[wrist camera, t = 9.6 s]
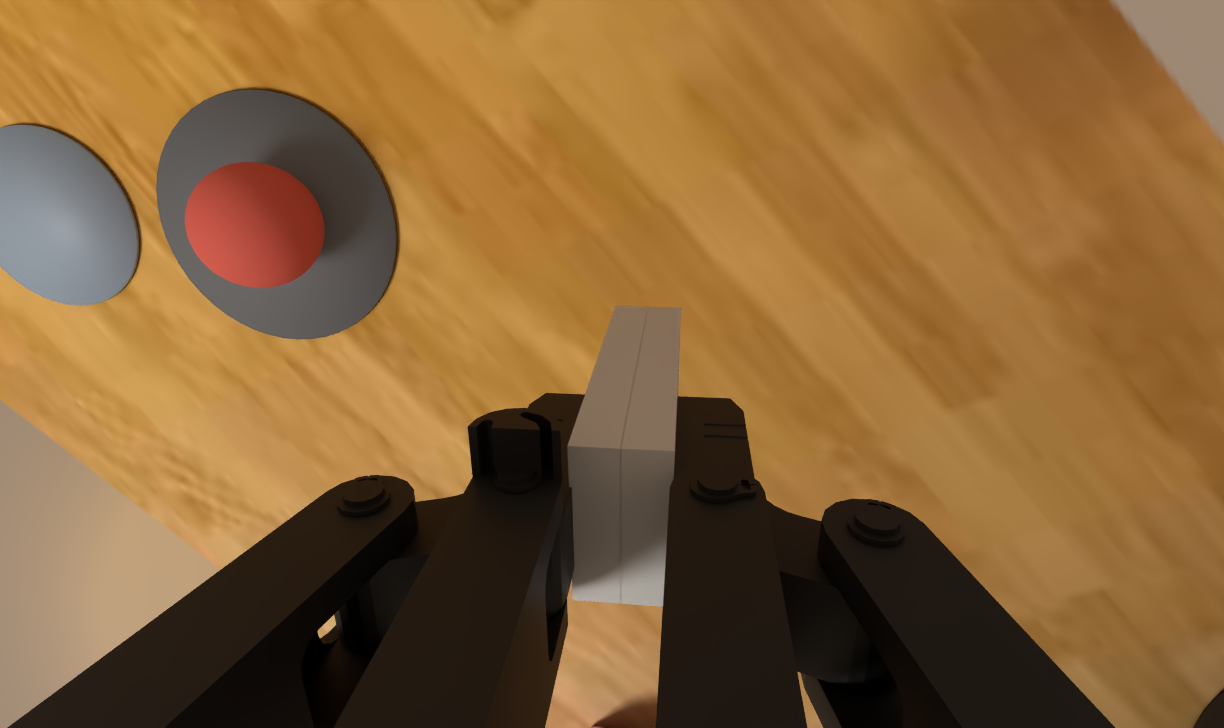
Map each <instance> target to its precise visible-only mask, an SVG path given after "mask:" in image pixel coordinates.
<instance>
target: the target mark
mask: <svg viewBox="0 0 1224 728" xmlns="http://www.w3.org/2000/svg"><path fill="white" fill-rule="evenodd" d="M239 162H258V163H263V164H268V165H271V166H274V167H277V168H279V169H282V170H284V171H286V172H288V173H289V174H291V175H293V176H294V177H295V178H297V179H298V180H299V181H301V182H302V183H303V184H304V185H305V186H306V187H307V188H308V189H309V191H310V192H311V193H312V195H313V196H314V198H315V199H316V201H317V203H318V205H319V207H320V210H321V212H322V215H323V220H324V230H325V234H324V241H323V246H322V249H321V251H320V254H319V256H318V258H317V259H316V261H315V262H314V264H313V265H312V266H311V268H310V269H308V270H307V271H306V272H305V273H304V274H303V275H301V276H300V277H298V278H297V279H295V280H293V281H291V282H289V283H286V284H284V285H280V286H275V287H269V288H253V287H247V286H242V285H239V284H235V283H233V282H230V281H228V280H226V279H224V278H222V277H220V276H219V275H217V274H216V273H214V272H213V271H211V270H210V269H209V268H208V267H207V266H206V265H205V264H204V263H203V262H202V261H201V260H200V259H199V257H198V256H197V255H196V253H195V252H194V250H193V248H192V246H191V244H190V242H189V240H188V237H187V233H186V228H185V210H186V206H187V202H188V199H189V197H190V195H191V193H192V191H193V190H194V188H195V187H196V185H197V184H198V183H199V182H200V181H201V180H202V179H203V178H204V177H205V176H206V175H208V174H209V173H211V172H212V171H214V170H216V169H218V168H220V167H223V166H226V165H229V164H233V163H239ZM156 190H157V203H158V209H159V214H160V219H161V223H162V226H163V230H164V233H165V236H166V238H167V241H168V243H169V245H170V248H171V250H172V252H173V254H174V256H175V257H176V259H177V261H178V263H179V264H180V266H181V268H182V269H183V271H184V272H185V273H186V275H187V276H188V278H189V279H190V280H191V282H192V283H193V284H194V285H195V286H196V287H197V288H198V290H199V291H200V292H201V293H202V294H203V295H204V296H205V297H206V298H207V299H208V300H209V301H211V302H212V303H213V304H214V305H215V306H216V307H218V308H219V309H220V310H222V311H223V312H224V313H225V314H227V315H228V316H230V317H232V318H233V319H235V320H237V321H238V322H240V323H242V324H244V325H246V326H248V327H250V328H252V329H254V330H257V331H260V332H263V333H266V334H269V335H273V336H277V337H282V338H289V339H315V338H320V337H326V336H329V335H332V334H335V333H339V332H341V331H343V330H345V329H347V328H349V327H351V326H352V325H354V324H355V323H356V322H358V321H359V320H361V319H362V318H364V317H365V316H366V315H367V314H368V313H369V312H370V311H371V310H372V309H373V308H374V306H375V305H376V304H377V302H378V301H379V300H380V298H381V297H382V295H383V293H384V292H385V290H386V288H387V286H388V284H389V281H390V278H391V275H392V273H393V269H394V264H395V259H396V250H397V231H396V221H395V216H394V211H393V206H392V203H391V200H390V197H389V194H388V191H387V188H386V186H385V184H384V182H383V179H382V177H381V175H380V173H379V171H378V170H377V168H376V166H375V165H374V163H373V161H372V160H371V158H370V157H369V155H368V154H367V153H366V151H365V150H364V149H363V147H362V146H361V145H360V144H359V142H358V141H357V140H356V139H355V138H354V137H353V136H352V135H351V134H350V133H349V132H348V131H347V130H346V129H345V128H344V127H343V126H341V125H340V124H339V123H338V122H337V121H336V120H334V119H333V118H332V117H330V116H329V115H327V114H326V113H324V112H323V111H321V110H320V109H318V108H316V107H314V106H312V105H311V104H309V103H307V102H305V101H303V100H300V99H297V98H295V97H292V96H289V95H286V94H282V93H277V92H273V91H267V90H252V89H249V90H237V91H231V92H226V93H222V94H218V95H216V96H214V97H211V98H209V99H207V100H204V101H203V102H201V103H200V104H198V105H197V106H195V107H194V108H192V109H191V110H190V111H189V112H188V113H187V114H186V115H185V116H184V117H182V118H181V120H180V121H179V122H178V123H177V125H176V126H175V127H174V129H173V130H172V132H171V134H170V135H169V137H168V139H167V141H166V143H165V145H164V148H163V151H162V154H161V157H160V161H159V167H158V172H157V188H156Z"/></svg>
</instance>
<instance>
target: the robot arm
mask: <svg viewBox="0 0 1224 728" xmlns="http://www.w3.org/2000/svg"><path fill="white" fill-rule="evenodd" d="M680 319H681V308H663V307H626V306H615V309H614V312H613V315H612V318H611V321H610V324H609V327H608V330H607V333H606V335H605V338H604V341H603V344H602V347H601V350H600V353H599V356H598V359H597V362H596V364H595V367H594V370H593V373H592V376H591V379H590V382H589V385H588V388H587V391H586V393H585V395H582V394H557V393H546V394H544V395H543V396H541V397H540V398H538V399H537V400H535V401H534V402H532V403H531V404H530V405H529V407H528V408H513V409H504V410H499V411H494V412H490V413H488V414H486V415H483V416H481V417H479V418H477V419H476V420H474V421H473V422H472V423H471V424H470V425H469V426H468V434H469V444H470V455H471V465H472V475H473V477H472V479H471V481H470V483H469V485H468V486H467V488H466V490H465V492H464V493H463V494H461V495H457V496H452V497H447V498H442V499H434V500H427V501H420V502H415V495H414V489H413V488H412V487H411V486H410V484H409V483H408V482H407V481H405V480H402V479H399V478H397V477H394V476H381V475H370V476H363V477H358V478H356V479H354V480H350V481H347V482H344V483H341V484H339V485H338V486H336V487H334V488H332V489H330V490H329V491H327V492H325V493H324V494H323V495H321V496H320V497H319V498H317V499H316V500H315V501H313V502H312V503H310V504H309V505H308V506H306V507H305V508H304V509H302V510H301V511H300V512H298V513H297V514H296V515H294V516H293V517H292V518H290V519H289V520H287V521H286V522H285V523H283V524H282V525H281V526H279V527H278V528H277V529H275V530H274V531H273V532H271V533H270V534H269V535H267V536H266V537H265V538H263V539H262V540H260V541H259V542H258V543H256V544H255V545H254V546H252V547H251V548H250V549H248V550H247V551H246V552H244V553H243V554H242V555H240V556H239V557H237V558H236V559H235V560H233V561H232V562H231V563H229V564H228V565H227V566H225V567H224V568H223V569H221V570H220V571H219V572H217V573H216V574H215V575H213V576H212V577H210V578H209V579H208V580H206V581H205V582H204V583H202V584H201V585H200V586H199V587H197V588H196V589H194V590H193V591H192V592H190V593H189V594H188V595H186V596H185V597H183V598H182V599H181V600H179V601H178V602H177V603H175V604H174V605H173V606H171V607H170V608H169V609H167V610H166V611H164V612H163V613H162V614H160V615H159V616H158V617H157V618H155V619H154V620H153V621H151V622H150V623H148V624H147V625H146V626H144V627H143V628H142V629H140V630H139V631H137V632H136V633H135V634H133V635H132V636H131V637H129V638H128V639H127V640H126V641H124V642H123V643H121V644H120V645H119V646H117V647H116V648H114V649H113V650H112V651H110V652H109V653H108V654H106V655H105V656H104V657H102V658H101V659H100V660H99V661H97V662H96V663H94V664H93V665H92V666H90V667H89V668H87V669H86V670H85V671H83V672H82V673H81V674H79V675H78V676H77V677H76V678H74V679H73V680H71V681H70V682H69V683H67V684H66V685H65V686H63V687H62V688H60V689H59V690H58V691H56V692H55V693H54V694H52V695H51V696H50V697H48V698H47V699H46V700H44V701H43V702H41V703H40V704H39V705H37V706H36V707H35V708H33V709H32V710H31V711H29V712H28V713H27V714H25V715H24V716H23V717H21V718H20V719H19V720H17V721H16V722H14V723H13V724H12V725H11V726H9V727H8V728H545V725H546V720H547V716H548V711H549V707H550V703H551V698H552V694H553V689H554V685H555V680H556V676H557V671H558V667H559V663H560V658H561V654H562V649H563V645H564V640H565V636H566V631H567V627H568V614H567V596H568V592H569V588H570V583H571V579H572V592H573V600H580V601H593V602H607V603H621V604H635V605H649V606H662V607H663V614H662V631H661V649H660V666H659V684H658V701H657V719H656V728H807V724H806V718H805V712H804V707H803V701H802V696H801V690H800V685H799V679H798V673H797V672H800V673H801V676H802V680H803V684H804V688H805V690H806V692H807V694H808V696H809V698H810V701H811V703H812V705H813V707H814V709H815V711H816V713H817V715H818V717H819V719H820V721H821V724H822V726H823V728H1115V727H1114V726H1113V725H1112V724H1111V723H1110V722H1109V721H1108V719H1107V718H1106V717H1105V716H1104V715H1103V714H1102V713H1101V712H1100V711H1099V710H1098V709H1097V708H1096V707H1095V706H1094V704H1093V703H1092V702H1091V701H1090V700H1089V699H1088V698H1087V697H1086V696H1085V695H1084V694H1083V693H1082V692H1081V691H1080V690H1079V688H1078V687H1077V686H1076V685H1075V684H1074V683H1073V682H1072V681H1071V680H1070V679H1069V678H1068V677H1067V676H1066V675H1065V674H1064V672H1063V671H1062V670H1061V669H1060V668H1059V667H1058V666H1057V665H1056V664H1055V663H1054V662H1053V661H1052V660H1051V659H1050V657H1049V656H1048V655H1047V654H1046V653H1045V652H1044V651H1043V650H1042V649H1041V648H1040V647H1039V646H1038V645H1037V644H1036V643H1035V641H1034V640H1033V639H1032V638H1031V637H1030V636H1029V635H1028V634H1027V633H1026V632H1025V631H1024V630H1023V629H1022V628H1021V627H1020V625H1019V624H1018V623H1017V622H1016V621H1015V620H1014V619H1013V618H1012V617H1011V616H1010V615H1009V614H1008V613H1007V612H1006V611H1005V609H1004V608H1003V607H1002V606H1001V605H1000V604H999V603H998V602H997V601H996V600H995V599H994V598H993V597H992V596H991V594H990V593H989V592H988V591H987V590H986V589H985V588H984V587H983V586H982V585H981V584H980V583H979V582H978V581H977V580H976V578H975V577H974V576H973V575H972V574H971V573H970V572H969V571H968V570H967V569H966V568H965V567H964V566H963V565H962V564H961V562H960V561H959V560H958V559H957V558H956V557H955V556H954V555H953V554H952V553H951V552H950V551H949V550H948V549H947V547H946V546H945V545H944V544H943V543H942V542H941V541H940V540H939V539H938V538H937V537H936V536H935V535H934V534H933V533H932V531H931V530H930V529H929V528H928V527H927V526H926V525H925V524H924V523H923V522H921V521H920V520H919V519H918V518H916V517H915V516H914V515H912V514H911V513H910V512H907V511H905V510H903V509H901V508H899V507H896V506H894V505H892V504H889V503H886V502H882V501H881V502H879V501H878V500H871V499H849V500H845V501H840V502H836V503H834V504H833V505H831V506H830V507H829V508H827V509H826V510H825V512H824V515H823V518H822V521H818V520H814V519H810V518H806V517H802V516H798V515H795V514H792V513H789V512H786V511H784V510H782V509H780V508H778V507H776V506H774V505H773V504H772V503H770V502H769V501H767V500H766V495H765V491H764V489H763V488H762V486H761V484H760V482H759V481H757V480H756V479H755V478H754V473H753V467H752V460H751V454H750V448H749V442H748V436H747V430H746V424H745V418H744V412H743V410H742V409H741V408H740V407H739V406H737V405H736V404H735V403H734V402H733V401H732V400H731V399H729V398H704V397H679V396H678V377H679V348H680ZM333 615H334V616H335V620H336V626H335V627H334V628H333V629H332V630H331V631H330V632H329V633H328V634H326V635H325V636H323V637H322V638H319V636H318V632H317V631H318V630H319V628H320V627H322V626H323V625H324V624H325V623H326V622H327V621H328V620H329V619H330V618H331V617H332V616H333ZM1194 728H1224V692H1223V693H1221V694H1220V695H1219V696H1218V697H1217V698H1216V699H1215V700H1214V701H1213V702H1212V703H1211V704H1210V705H1209V706H1208V708H1207V709H1206V710H1205V711H1204V713H1203V714H1202V715H1201V717H1200V718H1199V720H1198V721H1197V723H1196V725H1195V727H1194Z"/></svg>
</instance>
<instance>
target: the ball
mask: <svg viewBox="0 0 1224 728" xmlns="http://www.w3.org/2000/svg"><path fill="white" fill-rule="evenodd" d="M185 228H186V233H187V237H188V240H189V242H190V244H191V246H192V248H193V250H194V252H195V253H196V255H197V256H198V257H199V259H200V260H201V261H202V262H203V263H204V264H205V265H206V266H207V267H208V268H209V269H210V270H211V271H213V272H214V273H216V274H217V275H219V276H220V277H222V278H224V279H226V280H228V281H230V282H233V283H235V284H239V285H242V286H247V287H253V288H269V287H275V286H280V285H284V284H286V283H289V282H291V281H293V280H295V279H297V278H298V277H300V276H301V275H303V274H304V273H305V272H306V271H307V270H308V269H310V268H311V266H312V265H313V264H314V262H315V261H316V259H317V258H318V256H319V254H320V251H321V249H322V246H323V241H324V234H325V230H324V220H323V215H322V212H321V210H320V207H319V205H318V203H317V201H316V199H315V198H314V196H313V195H312V193H311V192H310V191H309V189H308V188H307V187H306V186H305V185H304V184H303V183H302V182H301V181H299V180H298V179H297V178H295V177H294V176H293V175H291V174H289V173H288V172H286V171H284V170H282V169H279V168H277V167H274V166H271V165H268V164H263V163H258V162H239V163H233V164H229V165H226V166H223V167H220V168H218V169H216V170H214V171H212V172H211V173H209V174H208V175H206V176H205V177H204V178H203V179H202V180H201V181H200V182H199V183H198V184H197V185H196V187H195V188H194V190H193V191H192V193H191V195H190V197H189V199H188V202H187V206H186V210H185Z"/></svg>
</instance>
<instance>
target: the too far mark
mask: <svg viewBox="0 0 1224 728" xmlns="http://www.w3.org/2000/svg"><path fill="white" fill-rule="evenodd" d="M138 257H139V232H138V227H137V223H136V219H135V216H134V213H133V210H132V207H131V205H130V203H129V201H128V198H127V196H126V194H125V193H124V191H123V189H122V188H121V186H120V184H119V183H118V181H117V180H116V179H115V177H114V176H113V174H112V173H111V172H110V171H109V170H108V169H107V167H106V166H105V165H104V164H103V163H102V162H101V161H100V160H99V159H98V158H97V157H96V156H95V155H94V154H93V153H91V152H90V151H89V150H88V149H86V148H85V147H84V146H82V145H81V144H79V143H78V142H76V141H75V140H73V139H71V138H70V137H68V136H66V135H63V134H61V133H59V132H57V131H54V130H51V129H48V128H44V127H40V126H35V125H12V126H6V127H2V128H0V266H1V267H2V268H3V269H4V270H5V271H6V272H7V273H8V274H9V275H10V276H11V277H12V278H14V279H15V280H16V281H17V282H19V283H20V284H22V285H23V286H24V287H26V288H27V289H29V290H31V291H33V292H34V293H36V294H38V295H40V296H42V297H44V298H47V299H50V300H53V301H55V302H59V303H63V304H68V305H91V304H96V303H99V302H102V301H105V300H107V299H110V298H112V297H113V296H115V295H117V294H118V293H119V292H120V291H121V290H123V289H124V288H125V286H126V285H127V284H128V283H129V281H130V280H131V278H132V276H133V274H134V272H135V269H136V266H137V263H138Z"/></svg>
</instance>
